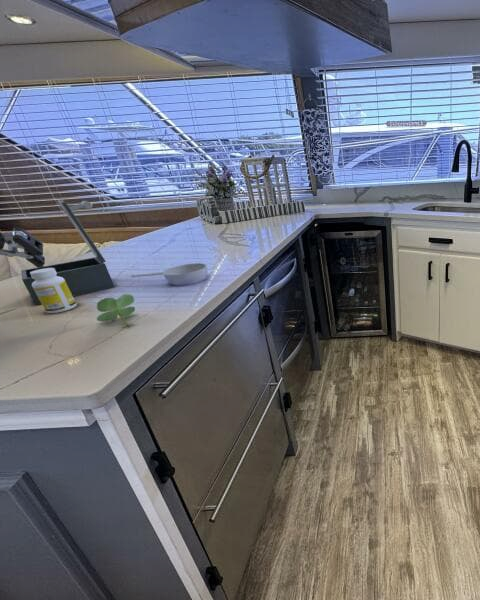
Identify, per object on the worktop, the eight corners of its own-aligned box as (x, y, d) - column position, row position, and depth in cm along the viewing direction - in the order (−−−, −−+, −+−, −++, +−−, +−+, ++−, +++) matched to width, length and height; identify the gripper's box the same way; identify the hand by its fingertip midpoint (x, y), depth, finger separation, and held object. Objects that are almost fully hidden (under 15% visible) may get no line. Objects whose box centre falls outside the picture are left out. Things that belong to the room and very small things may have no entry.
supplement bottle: (69, 303, 80) (51, 265, 76) (82, 305, 78) (64, 267, 74) (41, 312, 76) (20, 272, 72) (53, 315, 74) (32, 275, 70)
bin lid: (61, 202, 79) (89, 196, 83) (56, 200, 87) (82, 194, 90) (102, 262, 87) (126, 254, 91) (95, 255, 95) (117, 248, 99)
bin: (35, 305, 80) (21, 279, 77) (33, 294, 88) (20, 270, 85) (114, 286, 91) (105, 263, 88) (106, 278, 98) (97, 256, 96)
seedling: (130, 343, 70) (117, 323, 72) (157, 317, 70) (143, 298, 72) (94, 339, 63) (81, 317, 65) (125, 311, 63) (111, 289, 65)
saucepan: (207, 282, 91) (203, 269, 89) (130, 294, 84) (125, 280, 83) (211, 272, 100) (207, 260, 98) (142, 282, 93) (137, 269, 92)
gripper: (-3, 193, 54) (59, 246, 68) (-132, 201, 49) (-36, 256, 63) (-6, 230, 52) (59, 277, 66) (-141, 242, 47) (-39, 290, 61)
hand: (13, 267), depth 65 cm, fingers open, 8 cm apart
